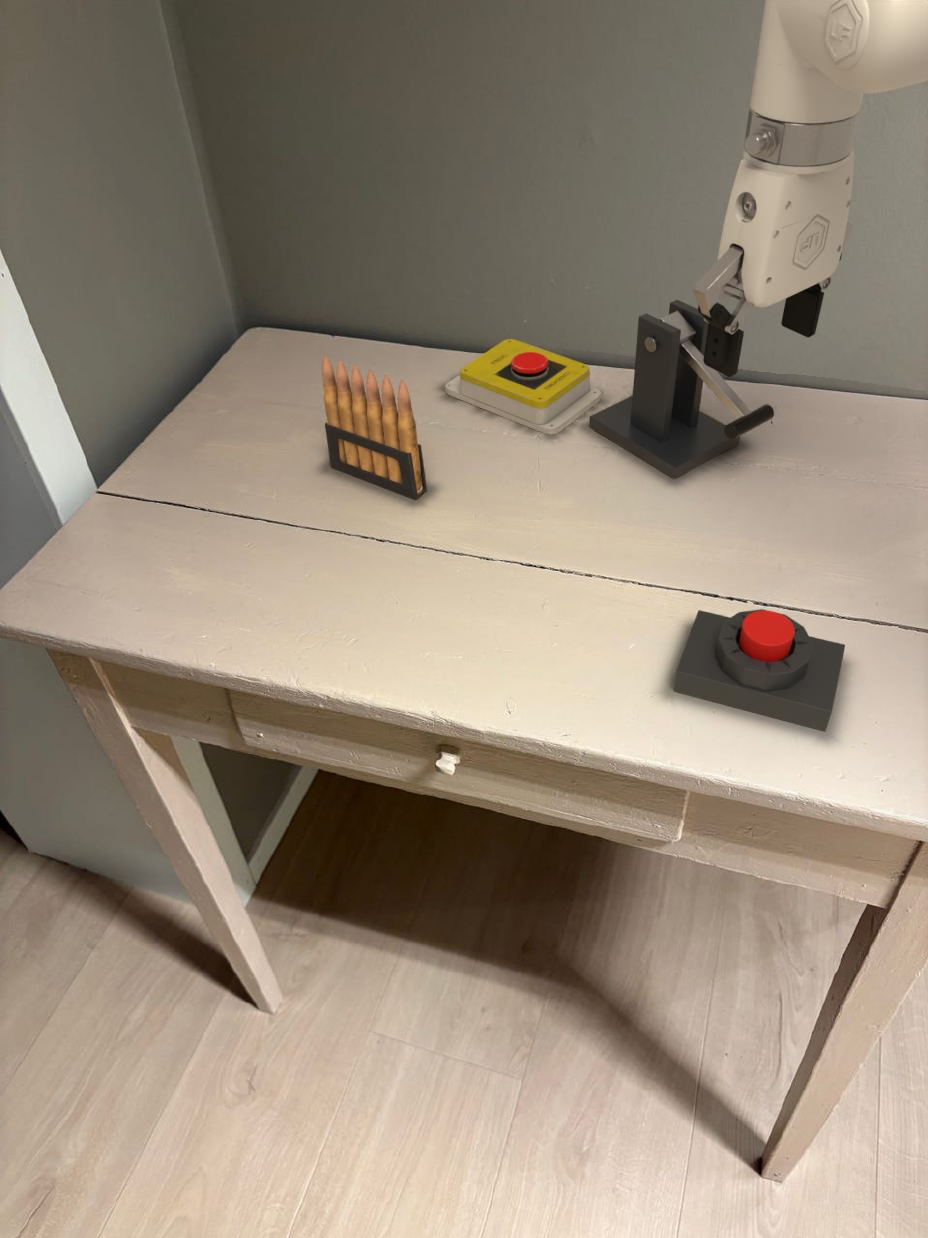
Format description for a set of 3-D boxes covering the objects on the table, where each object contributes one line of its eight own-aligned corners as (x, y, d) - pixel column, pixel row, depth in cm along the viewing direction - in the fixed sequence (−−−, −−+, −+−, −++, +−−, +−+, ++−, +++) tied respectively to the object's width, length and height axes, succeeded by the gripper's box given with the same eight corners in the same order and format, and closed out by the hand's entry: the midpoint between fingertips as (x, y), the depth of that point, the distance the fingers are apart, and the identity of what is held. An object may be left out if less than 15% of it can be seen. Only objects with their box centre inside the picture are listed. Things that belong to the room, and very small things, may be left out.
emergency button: (553, 398, 94) (438, 355, 101) (553, 436, 97) (441, 391, 104) (607, 359, 99) (493, 320, 106) (604, 396, 102) (494, 356, 109)
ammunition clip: (330, 467, 95) (310, 357, 87) (342, 457, 96) (323, 348, 88) (416, 500, 91) (404, 387, 82) (427, 490, 92) (417, 378, 83)
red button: (794, 634, 70) (798, 617, 69) (785, 667, 68) (790, 650, 67) (744, 622, 72) (748, 605, 70) (734, 655, 69) (738, 638, 68)
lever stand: (739, 443, 94) (760, 322, 86) (674, 479, 91) (689, 356, 82) (652, 395, 102) (663, 279, 93) (588, 426, 98) (593, 308, 89)
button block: (839, 664, 73) (851, 627, 70) (825, 731, 68) (837, 694, 66) (695, 629, 76) (701, 592, 74) (673, 691, 72) (678, 654, 69)
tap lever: (766, 425, 88) (779, 409, 86) (729, 445, 86) (741, 429, 84) (678, 323, 91) (688, 305, 89) (639, 340, 89) (649, 322, 87)
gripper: (758, 180, 63) (722, 404, 75) (917, 117, 70) (861, 332, 82) (676, 151, 68) (654, 368, 80) (833, 95, 75) (791, 302, 87)
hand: (759, 349), depth 81 cm, fingers open, 9 cm apart
